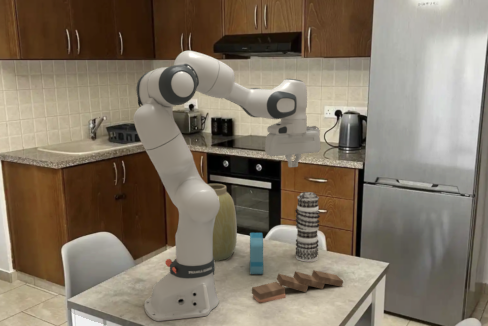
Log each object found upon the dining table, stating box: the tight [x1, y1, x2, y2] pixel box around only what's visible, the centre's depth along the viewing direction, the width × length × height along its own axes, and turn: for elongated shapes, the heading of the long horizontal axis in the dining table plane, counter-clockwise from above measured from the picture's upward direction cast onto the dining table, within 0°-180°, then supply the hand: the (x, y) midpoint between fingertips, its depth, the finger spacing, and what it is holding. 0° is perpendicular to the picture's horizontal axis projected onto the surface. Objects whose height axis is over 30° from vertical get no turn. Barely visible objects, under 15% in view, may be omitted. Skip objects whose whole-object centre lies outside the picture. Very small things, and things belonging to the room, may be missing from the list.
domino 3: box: [276, 273, 309, 293], centre depth 159 cm, size 2×5×9 cm
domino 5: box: [311, 269, 344, 287], centre depth 163 cm, size 2×5×9 cm
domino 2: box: [252, 293, 287, 304], centre depth 155 cm, size 2×5×9 cm
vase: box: [207, 183, 238, 262], centre depth 188 cm, size 17×17×27 cm
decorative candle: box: [295, 191, 321, 263], centre depth 185 cm, size 9×9×25 cm
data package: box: [249, 232, 264, 275], centre depth 176 cm, size 12×4×12 cm, turn 0°
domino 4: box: [293, 271, 326, 290], centre depth 162 cm, size 2×5×9 cm
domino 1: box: [251, 281, 286, 300], centre depth 155 cm, size 2×5×9 cm
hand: (293, 166), depth 171 cm, fingers closed
